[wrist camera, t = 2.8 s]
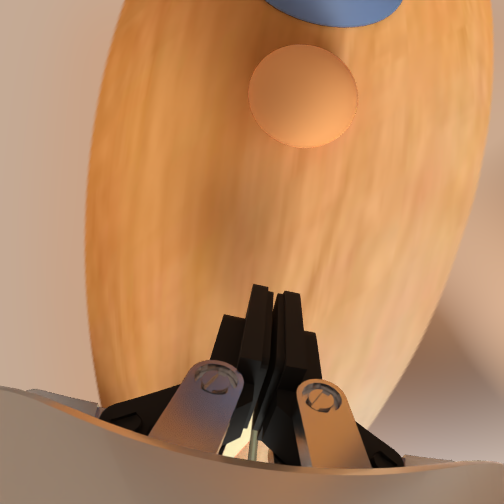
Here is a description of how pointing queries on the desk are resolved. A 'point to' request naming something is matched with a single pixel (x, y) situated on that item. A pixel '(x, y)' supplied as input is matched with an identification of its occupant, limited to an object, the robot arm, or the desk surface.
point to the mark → (337, 11)
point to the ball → (303, 96)
